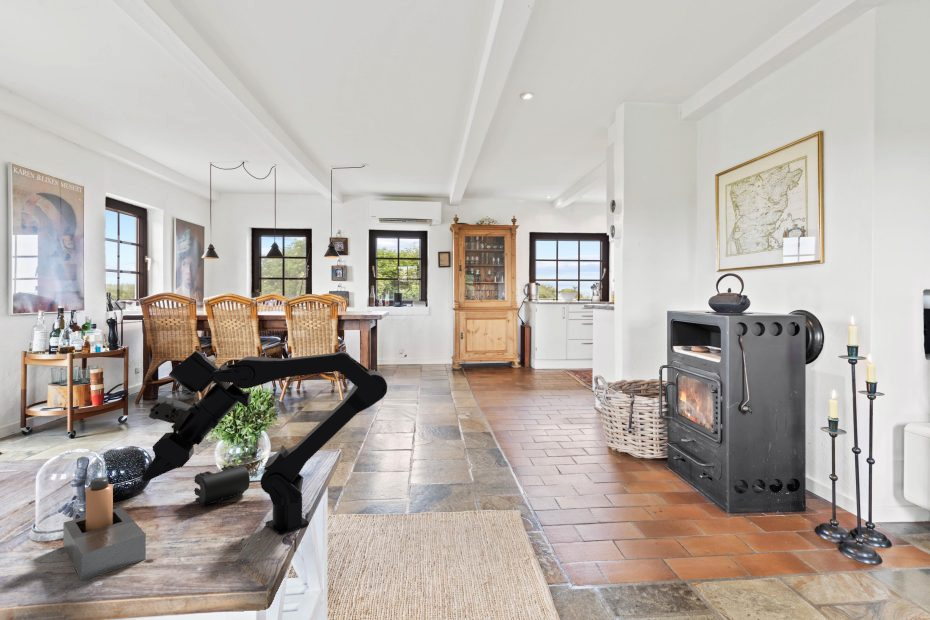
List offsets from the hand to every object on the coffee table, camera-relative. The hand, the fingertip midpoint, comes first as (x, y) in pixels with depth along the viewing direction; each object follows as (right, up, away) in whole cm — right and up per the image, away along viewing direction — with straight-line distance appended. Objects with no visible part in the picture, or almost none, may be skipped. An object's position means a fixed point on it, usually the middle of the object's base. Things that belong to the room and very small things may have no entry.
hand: (151, 470), depth 90 cm
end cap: (+4, -14, +19) cm, 24 cm away
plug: (-8, -13, -2) cm, 16 cm away
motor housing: (-6, -14, -5) cm, 15 cm away
